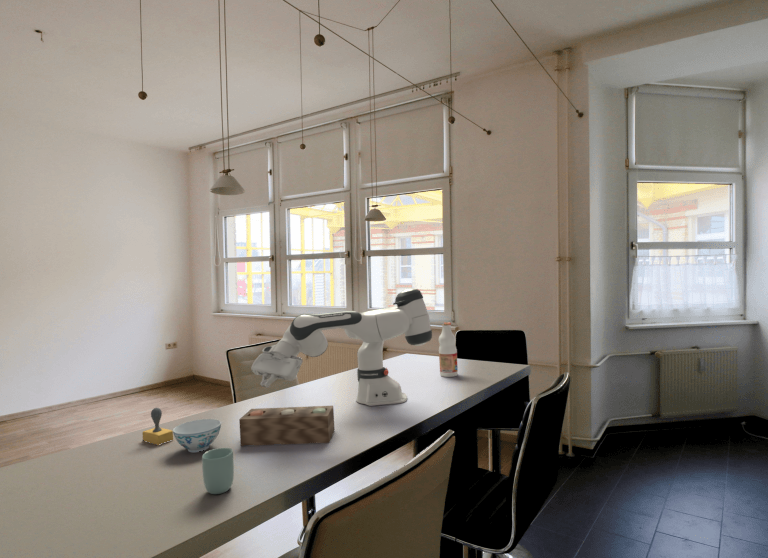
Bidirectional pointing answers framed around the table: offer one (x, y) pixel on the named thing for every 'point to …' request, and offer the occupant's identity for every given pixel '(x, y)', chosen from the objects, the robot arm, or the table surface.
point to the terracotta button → (256, 413)
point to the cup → (218, 470)
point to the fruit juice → (447, 352)
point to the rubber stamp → (157, 430)
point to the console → (287, 426)
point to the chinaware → (197, 434)
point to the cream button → (287, 411)
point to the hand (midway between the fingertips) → (263, 386)
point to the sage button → (319, 410)
